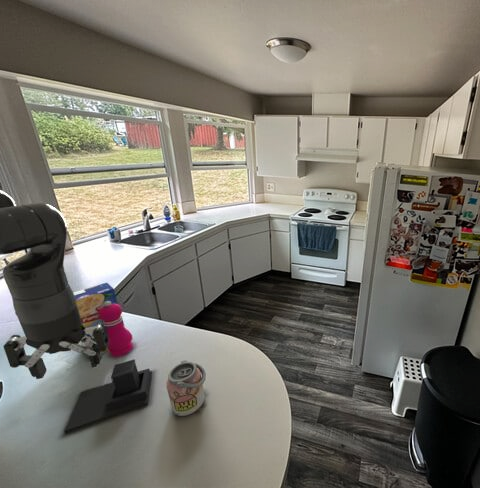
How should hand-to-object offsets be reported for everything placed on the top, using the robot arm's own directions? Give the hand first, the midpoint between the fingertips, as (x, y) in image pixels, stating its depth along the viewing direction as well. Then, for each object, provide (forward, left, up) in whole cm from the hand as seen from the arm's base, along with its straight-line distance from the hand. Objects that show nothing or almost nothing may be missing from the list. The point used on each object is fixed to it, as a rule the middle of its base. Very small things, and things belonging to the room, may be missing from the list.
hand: (69, 369), depth 53 cm
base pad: (-4, +10, -22) cm, 24 cm away
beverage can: (+18, +10, -22) cm, 30 cm away
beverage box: (-23, +30, -22) cm, 44 cm away
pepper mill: (-16, +28, -22) cm, 39 cm away
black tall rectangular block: (-1, +12, -21) cm, 24 cm away
